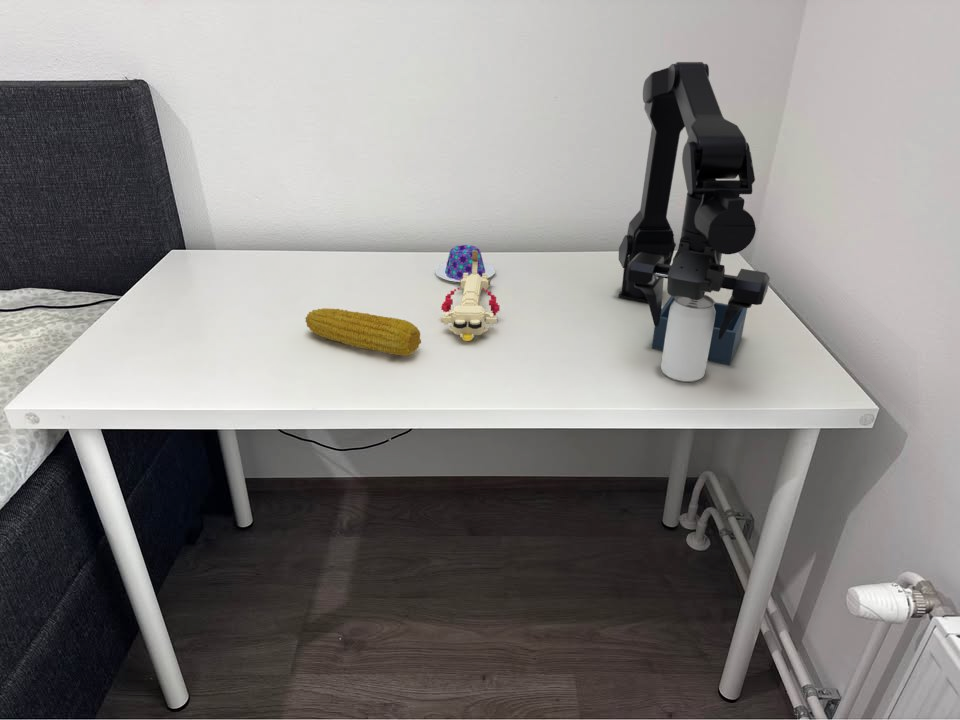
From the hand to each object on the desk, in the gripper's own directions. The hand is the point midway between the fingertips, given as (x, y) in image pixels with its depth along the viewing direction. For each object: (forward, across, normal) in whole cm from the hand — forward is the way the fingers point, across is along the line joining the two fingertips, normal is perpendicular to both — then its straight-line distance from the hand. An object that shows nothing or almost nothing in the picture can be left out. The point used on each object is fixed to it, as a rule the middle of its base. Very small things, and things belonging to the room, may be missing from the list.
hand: (687, 331), depth 103 cm
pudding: (+7, -48, +20) cm, 53 cm away
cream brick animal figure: (+7, -38, +4) cm, 39 cm away
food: (+7, -48, -15) cm, 51 cm away
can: (+7, 0, 0) cm, 7 cm away
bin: (+7, 0, +11) cm, 13 cm away
